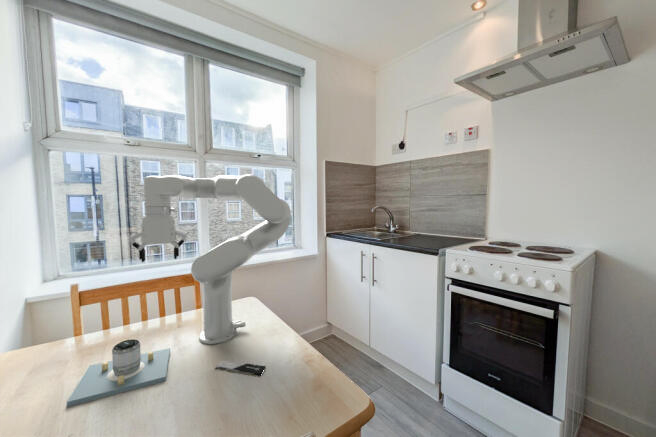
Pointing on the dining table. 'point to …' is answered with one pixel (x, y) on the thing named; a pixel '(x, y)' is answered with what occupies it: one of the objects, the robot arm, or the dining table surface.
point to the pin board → (120, 378)
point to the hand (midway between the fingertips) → (159, 259)
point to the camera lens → (126, 357)
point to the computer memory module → (241, 368)
